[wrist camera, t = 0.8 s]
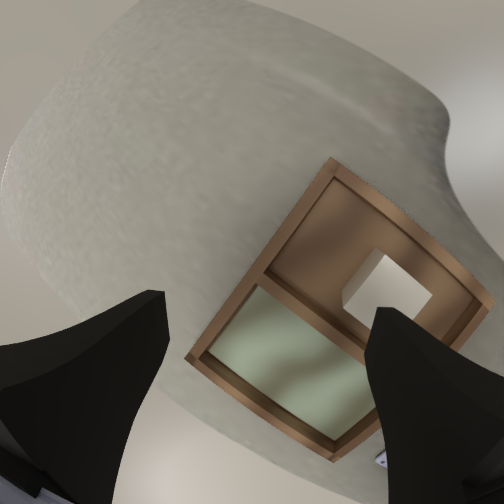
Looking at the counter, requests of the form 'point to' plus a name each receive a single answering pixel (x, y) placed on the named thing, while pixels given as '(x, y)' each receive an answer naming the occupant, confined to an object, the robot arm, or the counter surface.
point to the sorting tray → (327, 313)
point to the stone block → (382, 289)
